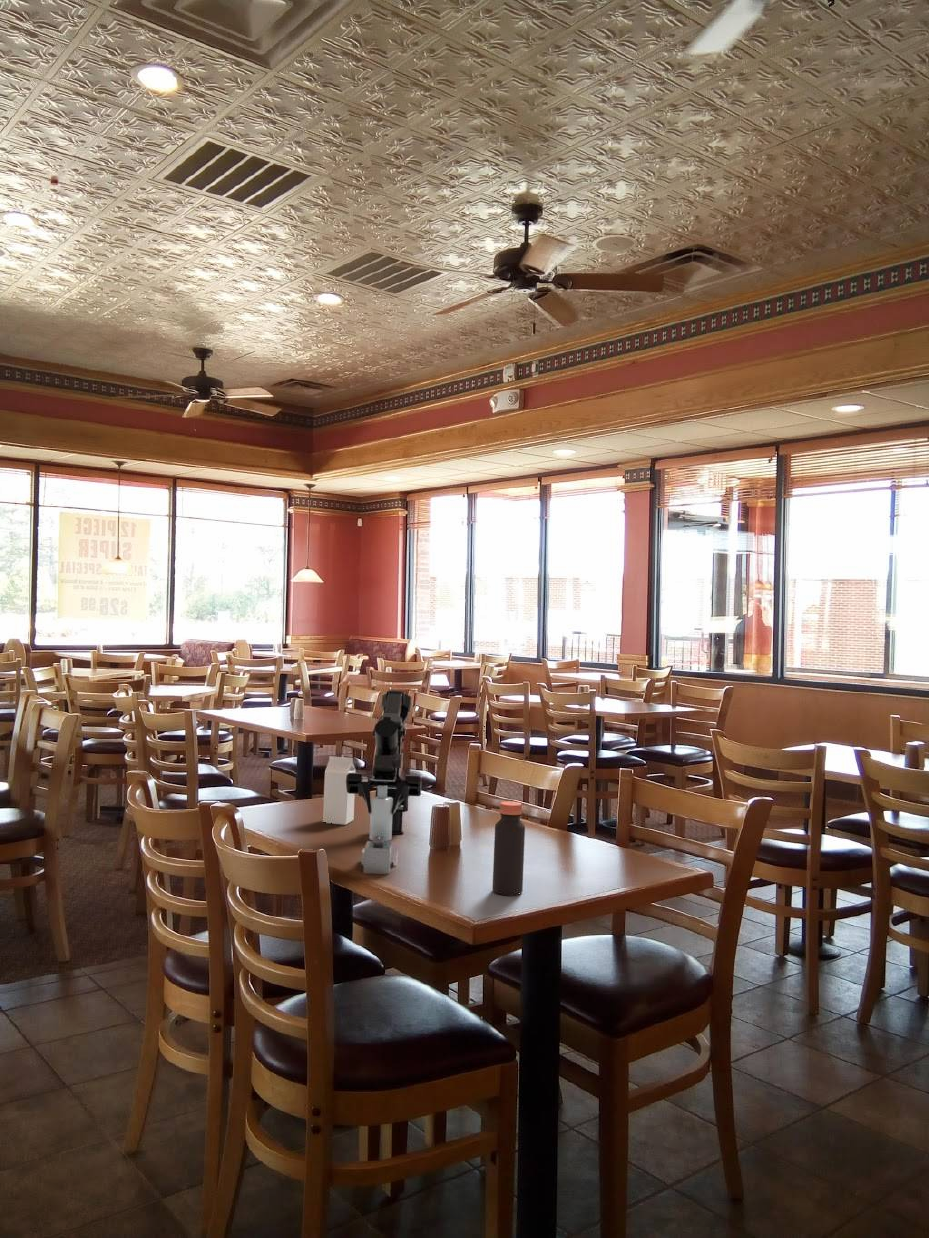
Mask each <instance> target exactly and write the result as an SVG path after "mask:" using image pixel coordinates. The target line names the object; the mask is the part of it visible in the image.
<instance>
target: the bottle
mask: <svg viewBox="0 0 929 1238" xmlns="http://www.w3.org/2000/svg"><path fill="white" fill-rule="evenodd" d="M522 808H523V804H522V803H521V802H518V801H511V800H510V801H509V800H508V801H505V800H504V801H501V802H500V803H499V816H500V819H499V820H498V821H497V822H496V823H495V825H494V844H493V845H494V846H493V863H492V864H493V868H492V870H493V871H492V888H491V889H492V892H493V893H494V892H495V893H494V894H496V893H497V895H499V894H500V895H499V896H505V895H515V894H519V893H521V892H522V893H523V888H524V887H523V884H524V883H523V882H524V866H525V865H524V863H525V862H524V861H525V859H524V858H525V841H526V840H525V836H526V826H525V824H524V823H523V822H522V821H521V817H522V813H523V812H522ZM522 893H521V894H522ZM519 895H520V894H519ZM515 896H516V895H515Z"/></svg>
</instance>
